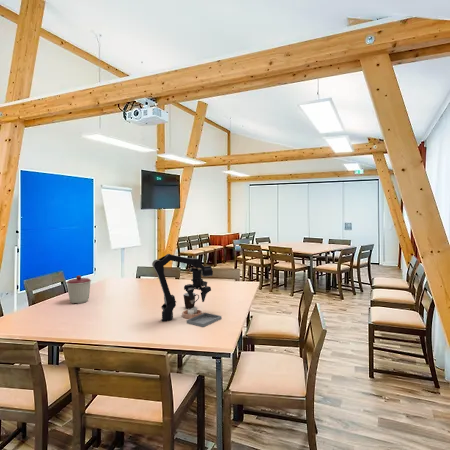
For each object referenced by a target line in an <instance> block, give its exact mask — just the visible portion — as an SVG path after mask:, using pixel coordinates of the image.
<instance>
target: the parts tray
mask: <svg viewBox="0 0 450 450" xmlns="http://www.w3.org/2000/svg"><path fill="white" fill-rule="evenodd" d="M221 320H222V315H218V314H213V313H208V312H204V313H202V314H201V315H199V316H196V317H194V318H191V319H186V324H187V325H192V326H197V327H201V328H205V327H206V326H209V325H212V324H214V323H216V322H218V321H221Z"/></svg>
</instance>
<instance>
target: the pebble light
mask: <svg viewBox="0 0 450 450" xmlns="http://www.w3.org/2000/svg"><path fill="white" fill-rule="evenodd" d="M187 310H188V315H194V310H193V309H187Z"/></svg>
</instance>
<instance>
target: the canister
mask: <svg viewBox="0 0 450 450" xmlns="http://www.w3.org/2000/svg"><path fill="white" fill-rule="evenodd" d="M91 282H92V279H90V278H88V277H82V275H80V274H79V275H76V277H75V278H72V279H69V280H68V281H66V282H65V283H66V285H67V293H68V297H69V302H70V303H71V304H74V303H78V304H83V303H87V302H88V301H89V299H90V293H91V292H90V291H91Z"/></svg>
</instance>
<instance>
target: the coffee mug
mask: <svg viewBox="0 0 450 450" xmlns="http://www.w3.org/2000/svg"><path fill="white" fill-rule="evenodd" d="M182 296H183V301H184V302H183V303H184V308H185V309H186V310H190V309H191V308H193V307H195V304H196V302H198V300H199V298H200V295H199V294H198V293H197V294H196V293H194V292H193V300H191V298H190V296H189V294H188V293H187V292H186V293H183V295H182ZM196 296H197V298H196Z"/></svg>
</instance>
